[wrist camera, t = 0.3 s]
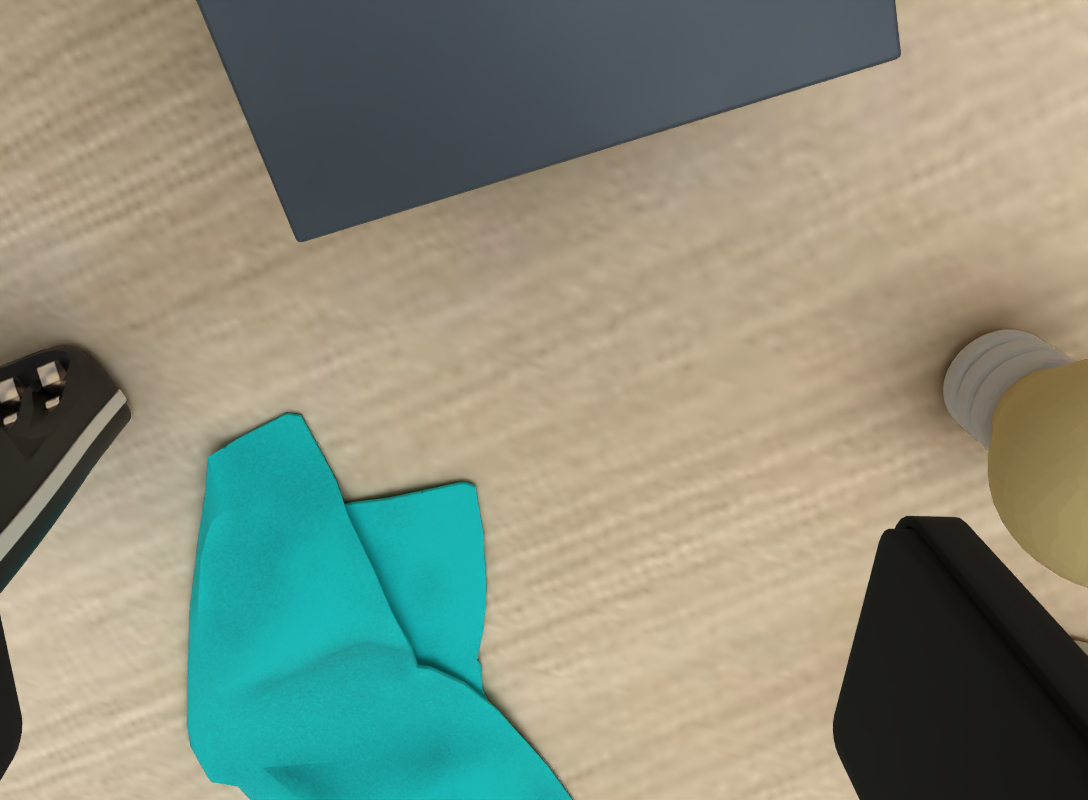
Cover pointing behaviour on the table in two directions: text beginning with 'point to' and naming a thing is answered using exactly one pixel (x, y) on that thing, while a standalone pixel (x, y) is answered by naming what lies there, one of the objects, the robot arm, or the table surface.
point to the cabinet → (504, 84)
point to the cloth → (343, 637)
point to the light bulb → (1030, 441)
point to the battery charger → (49, 442)
